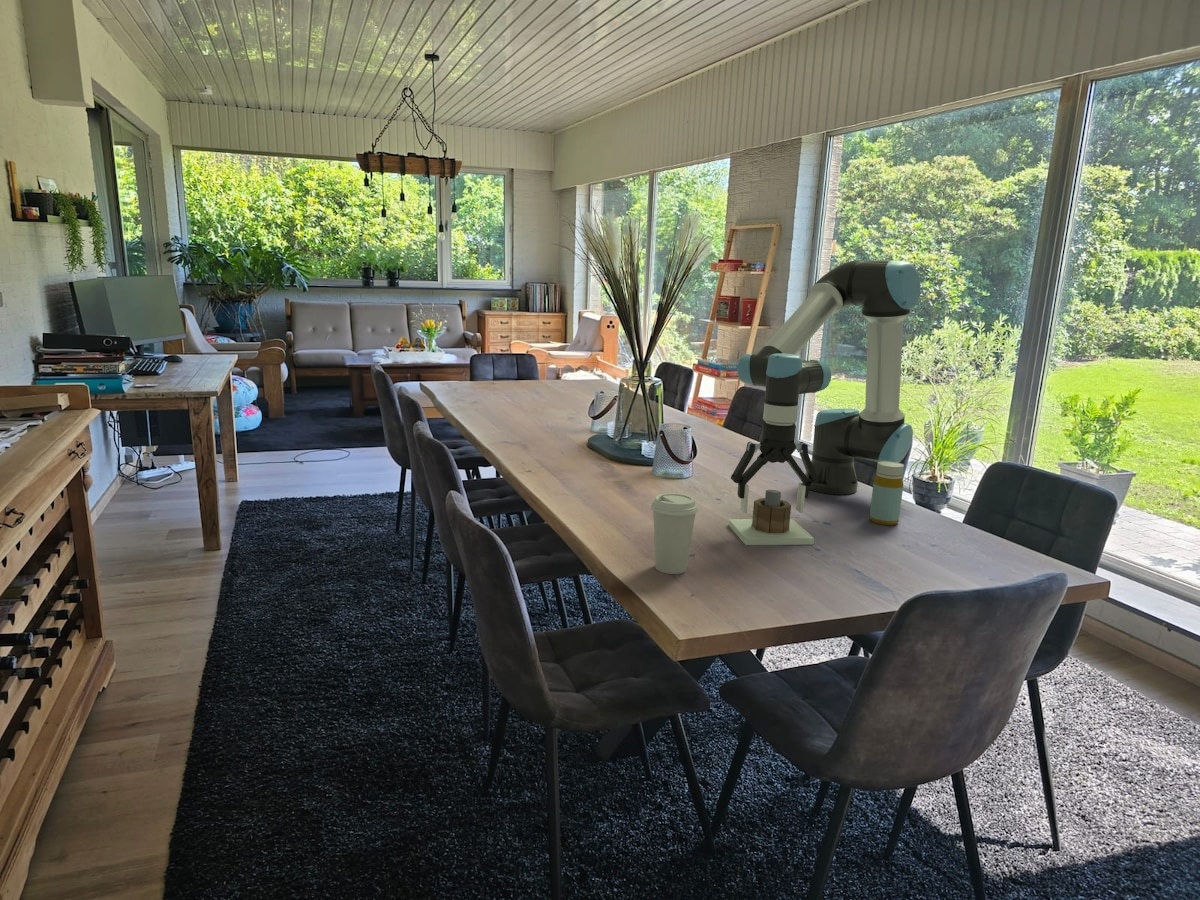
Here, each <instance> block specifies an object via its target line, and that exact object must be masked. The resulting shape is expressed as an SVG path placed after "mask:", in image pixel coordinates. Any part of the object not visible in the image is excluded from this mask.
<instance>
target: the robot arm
mask: <svg viewBox="0 0 1200 900" xmlns="http://www.w3.org/2000/svg"><path fill="white" fill-rule="evenodd" d="M921 288H922V287H921V279H920V274H919V272H918V269H916V267H915V266H914V265H913V263H911V262H909V261H903V260H897V259H896V260H895V259H894V260H893V259H892V260H889V259H888V260H886V259H885V260H862V259H860V260H858V259H855V260H850V261H848V262H844V263H842V264H839V265H837V266H836V267H834V268H833V269H831V270H830V271H828V272H826V273H825V274H824V275H822V277H820V278H819V279H818V280H817V281H816V282H815V283H814V284H813V285H812V286H811V288H810V289H809V292H808V296H807V297H806V299H805V300H804V301H803V302H802V303H801V304H800V306H799V307H798V308H797V309H796V310H795V311H794V312H793V313H792V314H791V316H789V318H788V319H787V320H786V321H785V322H784V323H783V324H782V325H781V327H779V328H778V330H777V331H776V332H775V333H774V334H773V336H772V337H771V338H770V339H769V340H767V342H766V343H765V345H764V346H762V348H761V349H760V350H758V352H757V353H754V352H752V353H746V354H743V355H742V356H741V357H740V358H739V360H738V362H737V367H736V371H737V372H736V373H737V376H738V378H739V379H738V380H740V382H741V383H743V384H747V385H751V386H754V387H763V388H765V392H764V393H765V395H764V402H763V415H762V419H763V422H762V424H761V437H760V438H761V439H760V442H759V443H755V442H752V441H748V442H747V443H746V448H745V450H744V451H745V452H744V453H743V455H742V457H741V458H740V460H739V462H738V464H737V465H736V467H735V469H734V471H733V473H732V474H731V476H730V479H731V481H732V482H733V483H735V484H737V497H738V498H739V499H740V508H739V509H740V511H741V512H742V513H743V514H747V513H748V506H749V505H748V504H749V503H748V502H749V492H750V485H749V484H748V483H749V481H751V480H752V478H753V477H754V476H756V475H757V473H759V471H760V469H762V468H763V466H765V465H767V464H768V462H769V463H771V464H773V463H780V464H784V463H785V462H787V464H788V465H789V466H790V467H791V468H792V470H793V471H794V473H795V474H796V475H797V477H798V478H799V480H800V481H801V482H798V483H797V484H798V485H797V493H796V495H797V496H796V502H795V503H796V504H795V510H796V511H797V512H798V513H800V514H804V508H805V499H808V498H809V496H810V495H809V494H810V491H812V492H813V491H814V492H817V493H821V494H827V495H828V494H830V495H848V494H849V495H850V494H853V493H854V494H855V493H856V492H857V491H858V486H859V485H858V478H857V475H856V470H855V466H854V461H855V458H857V459H861V460H866V461H868V462H869V461H870V462H875V463H878V462H880V461H892V462H898V463H901V461H902V460H903V459H904V458H905V457H906V456H907V454H908V452H909V450H910V448H911V445H912V442H913V435H914V434H913V433H914V430H913V428H912V427H913V426H912V425H911V424H909V423H907V422H905V416H906V415H905V413H904V412H903V411H902V410H901V409H900V397H901V396H900V392H901V371H902V353H903V352H902V351H903V350H902V349H903V330H904V329H903V328H904V327H903V325H904V320H905V319H906V318H908V316H910V313H911V309H913V308H915V307H916V305H917V304H918V302H919V300H920V299H919V298H920V297H921V296H920V295H921V291H922V290H921ZM848 306H855V307H856V306H858V307H861V309H862V310H861V316H862V317H863V318H864V319H865V320H867V340H866V342H867V343H866V346H867V347H866V370H865V371H866V372H865V377H866V378H865V379H866V380H865V400H864V401H865V402H864V403H865V404H864V409H862V410H861V411H860V410H859V409H855V408H830V409H822V410H820V411H818V412H817V414H816V416H815V422H814V426H813V427H814V432H813V440H812V441H813V442H812V443H813V444H812V454H811V458H810V455H809V445H808V444H806V443H805V442H804V441H800V442H799V443H796V442H795V441H796V440H795V439H796V432H797V431H796V430H797V425H796V424H795V423H796V422H798V421H797V420H798V409H799V399H800V395H803V394H811V393H812V394H815V393H818V392H821V391H824V390H825V389H827V388H828V387H829V385H830V383H831V381H832V372H831V368H830V367H829V365H828V364H827V363H826V362H825V361H823V360H821V359H820V360H819V359H810V360H805V359H803V358H802V356H801V355H799V352H800V351H801V350H802V349H803V348H804V347H805V345H806V344H807V343H808V342H809V341H810V340H811V338H812V337H813V336H814V335H815V334H816V333H817V332H818V330H819V329H820V328H821V327H822V326H823V325H824V324H825V323H826V322H827V320H828V319H829V318H830V317H831V315H835V314H837V313H839V312H840V311H841V310H842V309H843V308H845V307H848ZM758 450H759V451H760V454H759V455H758V456H757V458H756V459H755V460H754V461H753V463H752V464H751V465H749V464H750V462H751V461H752V459H753V456H754V455H755V453H757V451H758ZM795 451H796V452H798V453H799V456H800V458H801V460H802V464H803V466H804V469H805V471H806V472H804V471H803V469H801V467H800V466H799V464H798V463H797V461H796V460H795V459H794V458H795V457H793V456H792V455H793V453H794V452H795ZM748 466H749V467H748Z"/></svg>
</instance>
